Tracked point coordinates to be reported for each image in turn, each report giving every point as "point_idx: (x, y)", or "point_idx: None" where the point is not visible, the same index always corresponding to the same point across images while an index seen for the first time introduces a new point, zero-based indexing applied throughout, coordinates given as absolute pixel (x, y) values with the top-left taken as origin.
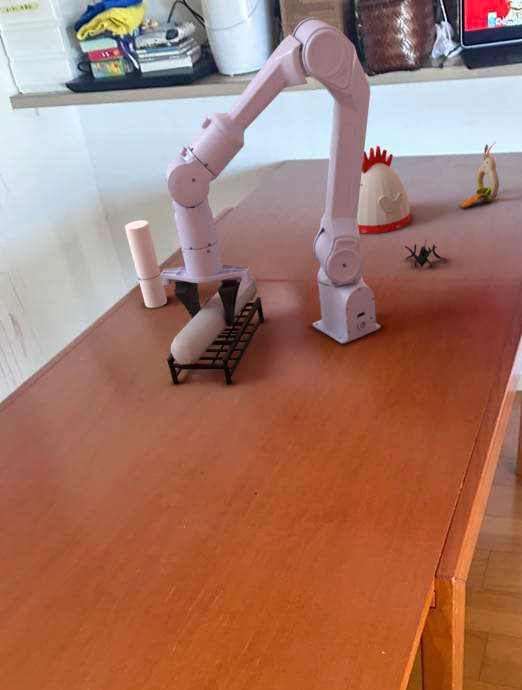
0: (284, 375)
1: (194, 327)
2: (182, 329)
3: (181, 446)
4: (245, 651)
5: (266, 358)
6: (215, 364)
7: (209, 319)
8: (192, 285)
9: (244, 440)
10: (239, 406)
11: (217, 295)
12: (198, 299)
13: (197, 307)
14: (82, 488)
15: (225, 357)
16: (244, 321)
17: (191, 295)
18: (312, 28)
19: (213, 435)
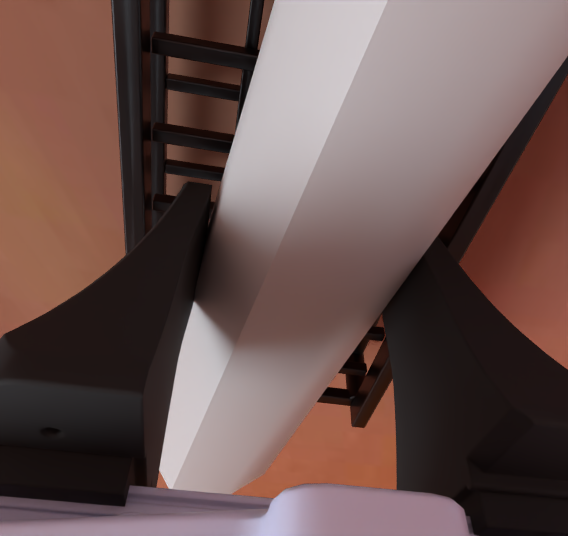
0: (544, 324)
1: (240, 462)
2: (183, 465)
3: (258, 479)
4: None
5: (511, 223)
6: (321, 400)
7: (300, 398)
8: (150, 450)
9: (389, 480)
10: (382, 412)
11: (336, 196)
12: (180, 278)
13: (186, 287)
14: None
15: (364, 420)
16: (484, 193)
17: (162, 427)
18: None
19: (322, 467)
